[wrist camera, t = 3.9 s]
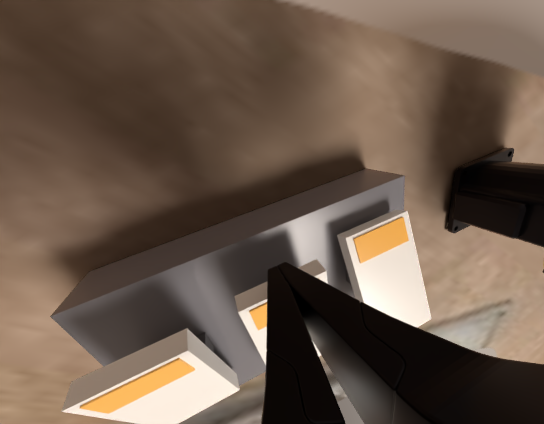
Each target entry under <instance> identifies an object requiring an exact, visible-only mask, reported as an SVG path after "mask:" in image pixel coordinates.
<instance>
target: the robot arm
mask: <svg viewBox="0 0 544 424" xmlns="http://www.w3.org/2000/svg"><path fill="white" fill-rule="evenodd" d="M513 153H514V149H513V148H504V149H502V150H499V151H497V152H495V153H492V154H490V155H487V156H485V157H482V158H480V159H478V160H475V161H473V162H470V163H468V164H466V165H463V166H461V167H459V168H458V169H457V170H456V172H455V177H454V185H453V192H452V200H451V207H450V214H449V222H448V231H449V232H452V233H456V232H458V231H460V230H462V229H464V228H466V227H468V226H470V225H472V226H475V227H478V228H481V229H484V230H487V231H490V232H493V233H497V234H500V235H503V236H506V237H509V238H513V239H515V238H516V239H519V240H522V241H525V242H529V243H532V244H535V245H538V246H541V247H544V164H534V163H520V162H511V161H512V157H513ZM543 273H544V270H543ZM313 342H314V344H315V345H316V347H317V349H318V350H319V352H320V353H321V355H322V357H323V358H324V360H325V361H326V363H327V365H328V366H329V368H330V369H331V371H332V373H333V374H334V376H335V377H336V379H337V380H338V382H339V384H340V385H341V387H342V388H343V390H344V392H345V393H346V395H347V396H348V398H349V399H350V401H351V403H352V404H353V406H354V408H355V409H356V411H357V412H358V414H359V416H360V417H361V419H362V420H363V422H364V424H544V364H536V363H529V362H521V361H514V360H507V359H501V358H497V357H492V356H489V355H485V354H481V353H478V352H475V351H472V350H470V349H467V348H465V347H462V346H460V345H457V344H455V343H452V342H450V341H448V340H445V339H443V338H441V337H438V336H436V335H433V334H431V333H429V332H426V331H424V330H421V329H419V328H417V327H414V326H412V325H410V324H407V323H405V322H403V321H401V320H398V319H396V318H394V317H391V316H389V315H387V314H385V313H383V312H381V311H379V310H377V309H375V308H373V307H371V306H369V305H367V304H365V303H364V302H360V301H359V300H358V299H356V298H354V297H352V296H350V295H348V294H346V293H344V292H343V291H341V290H339V289H337V288H335V287H333V286H331V285H329V284H327V283H326V282H324V281H322V280H320V279H318V278H316V277H314V276H312V275H310V274H308V273H307V272H305V271H303V270H301V269H299V268H297V267H295V266H293V265H291V264H289V263H288V262H283V263H281V264H279V265H277V266H274V267H272V268H270V269H268V271H267V339H266V350H267V352H266V375H265V391H264V402H263V412H262V420H261V424H345V420H344V418H343V415H342V413H341V411H340V408H339V406H338V403H337V401H336V398H335V396H334V393H333V391H332V388H331V386H330V383H329V381H328V378H327V376H326V373H325V371H324V369H323V366H322V364H321V361H320V359H319V356H318V354H317V351H316V349H315V346H314V344H313Z"/></svg>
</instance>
